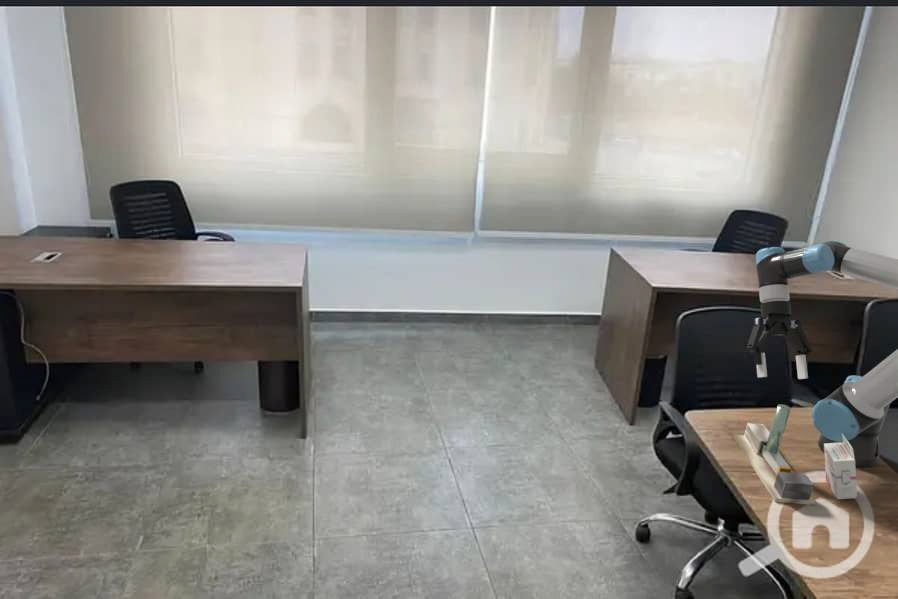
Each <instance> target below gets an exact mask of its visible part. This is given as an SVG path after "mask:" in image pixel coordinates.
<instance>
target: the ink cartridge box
mask: <svg viewBox="0 0 898 599" xmlns="http://www.w3.org/2000/svg"><path fill="white" fill-rule="evenodd" d="M842 438H843V442H839V443H826V444H824V452H825V453H824V452H823V453H824V464H825V478H826V479H825V480H826V483H827V484H828V486H829V488H830V490H831V491H832V493H833V496H834V497H835V498H836V500H846V499H847V500H848V499H849V500H850V499H857V498H858V490H857V473H856V471H857V469H856V468H857V466H855V457H854V451H853V448H852V447H851V445H850V443H849V442H848V440H847V439H846V437H845V436H844V435H843V433H842ZM847 444H848V445H847ZM848 446H849V447H848Z"/></svg>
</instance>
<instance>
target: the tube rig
mask: <svg viewBox="0 0 898 599" xmlns="http://www.w3.org/2000/svg"><path fill="white" fill-rule="evenodd" d="M769 433H770V431H769V430H768V428H767V427H766V425H764V423H758V422H757V423H755V422H747V423H746V428H745V431H744V434H736V433H734V434H733V439H734V441H735V442H736V444H737V445H738V446H739V448H740V450H741V451H742V453H743V455H744V456H745V458H746V459H747V461H748V463H749V464H750V465H751V467H752V468H753V470H754V472H755V473H756V474H757V477H758V478H759V479H760V481H761V482H762V484H763V485H764V487H765V488H766V491H767V492H768V493H769V494H770V497H772V500H773V501H774V502H776V503H777V502H778V503H787V504H796V505H797V504H798V505H806V506H807V505H810V506H816V504H817V502H816V500H815V499H814V497H813V496H812V493H813V490H814V486H815V485H814V483H813V482H812V480H811V479H810V478H809V477H808V475H807V474H806V473H797V472H794V470H793V469H792V468H791V466H790V465H789V464H788V462H787V461H786V460H785V458H784V457H783V456H782V454H781V453H780V451H779V450H778V452H779V453H780V455H781V456H782V458H783V459H784V460H785V462H786V463H787V464H788V466H789V467H790V468H791V473H787V472H778V474H777V476H776V474H775V473H774V471H773V470H772V468H771V467H770V465H769V464H768V462H767V461H766V460H765V458H764V457H763V455H762V454H761V452H760V447H761V444H762V443H767V440H768V437H769Z"/></svg>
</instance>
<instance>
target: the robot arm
mask: <svg viewBox="0 0 898 599" xmlns="http://www.w3.org/2000/svg"><path fill="white" fill-rule="evenodd" d="M755 264H756V265H755V268H756V273H757V274H756V275H757V280H758V292H759V293H758V294H759V301H760V303H761V304H760V314H761V316H760V317H757V318H756V317H755V318H754V319H753V327H752V331H751V333H750V336H749V339H748V341H747V342H748V343H747V345H746V350H747V352H750V354H752V355H753V360H754V365H755V366H756V375H757V378H767V377H768V370H767V362H766V360H767V359H766V353H765V352H763V350H764V349H765V347H766V346H767V344H768V342H769V341H770V339H771V338H772V336H780V337H781V336H782V338H784V339H785V340H786V341H787V342H788V344H789V345H790V346H791V348H792V349H793V350H794V351H795V352H796V354H797V355H795V362H796V363H795V364H796V370H797V371H796V372H797V379H798V380H805V379H809V375H808V366H809V363H808V362H809V361H808V355H810V354H811V353H813V352H814V350H813V348H812V346H811V343H810V342H809V340H808V337H807V336H806V334H805V332H804V330H803V327H802V324H801V320H800V319H794V320H791V319H790V317H791V315H792V308H791V307H792V306H791V302H790V299H791V298H790V290H789V280H790V279H795V278H801V277H806V276H810V275H819V274H822V273H825V272H829V271H830V272H835V273H838V274H842V275H846V276H848V277H853V278H857V279H860V280H863V281H868V282H870V283H873V284H878V285H881V286H884V287H889V288H892V289H895V290H898V259H897V258H894V257H891V256H890V257H889V256H886V255H882V254H877V253H874V252H870V251H867V250H862V249H858V248H854V247H851V246H850V247H849V246H847V245H846V244H845V243H843V242H841V241H834V240H832V241H825V242H823V243H820V244H813V245H809V246H806V247H803V248H802V247H801V248H798V249H794V250H790V251H786V252H785V249H784V248H783V247H779V246H772V247H765V248H760V249H759V250H758V251H757V252H756V253H755ZM897 398H898V348H897V349H896V350H895V351H893V352H892V353H890V354H889V355H888V356H886V358H885V359H883V360H882V361H881V362H879V363H878V364H877V365H875V367H873V368H872V369H871V370H870V371H868V372H867V373H866V374H864V375H863V376H861V375H848V376H847V377H846V379H845V381H843V384H842V385H841V386H840V387H838V388H837V389H835V390H834V391H833V392H832V393H831V394H829V395H827V397H825V398H824V399H821V400H819V401H817V402H816V404H815V405H814V406H813V408H812V410H811V418H812V419H811V420H812V423H813V425H814V427H815V429H816V430H817V431H818V432H819V433H820V436H819V438H818V442H817V445H818V447H819V449H820V450H821V451H822V452H823V453H824V454H825V452H824V444H826V443H839V442H843V438H842V433H843V435H844V436H845V437H846V439H847V440H848V442H849V443H850V445H851V447H852V448H853V451H854V457H855V467H860V468H869V467H870V468H871V467H874V466H876V465H877V464H878V460H879V457H880V444H879V435H880V433H881V430H882V427H883V425H884V422H885V419H886V417H887V414H888V411H889V408H890V405H891V403H892V402H893V401H895V400H896V399H897ZM847 445H848V444H847ZM848 447H849V446H848Z"/></svg>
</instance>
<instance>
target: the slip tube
mask: <svg viewBox="0 0 898 599" xmlns="http://www.w3.org/2000/svg"><path fill="white" fill-rule="evenodd" d="M790 412H791V407H790V406H788V405H786V404H781V403H779V404H777V407H776V410H775V413H774V416H773V420H772V424H771V427H770V431H769V432H770V433H769V437H768V440H767V443H762V444H761V447H760V452H761V454H762V455H763V457H764V458H765V460H766V461H767V462H768V464H769V465H770V467H771V468H772V470H773V471H774V473H775V474H776V476H777V474H778V472H787V473H791V469H792V468H791V466H790V465H789V464H788V462H787V461H786V460H785V458H784V457H783V455H782V454H781V453H780V451H779V449H780V446H781V443H782V439H783V436H784V434H785V433H784V432H785V429H786V426H787V423H788V419H789V417H790V416H789V415H790ZM778 451H779V452H778ZM780 454H781V455H780ZM782 457H783V458H784V459H783V458H782ZM785 461H786V462H787V463H786V462H785ZM788 465H789V466H790V467H789V466H788Z"/></svg>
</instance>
